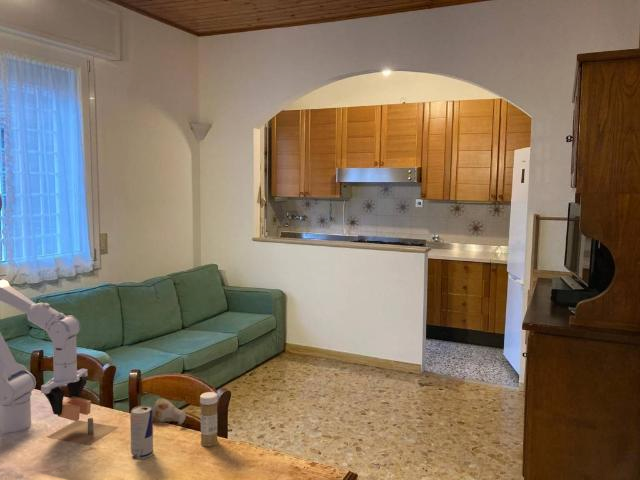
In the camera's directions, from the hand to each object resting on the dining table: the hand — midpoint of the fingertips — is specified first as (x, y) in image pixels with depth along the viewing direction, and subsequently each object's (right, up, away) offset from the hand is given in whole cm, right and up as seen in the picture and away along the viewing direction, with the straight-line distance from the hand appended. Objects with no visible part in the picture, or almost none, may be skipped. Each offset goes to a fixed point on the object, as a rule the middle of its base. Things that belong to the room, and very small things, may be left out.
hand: (66, 409), depth 140 cm
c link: (+3, -1, -1) cm, 3 cm away
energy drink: (+24, -8, -10) cm, 28 cm away
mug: (+26, -7, +9) cm, 28 cm away
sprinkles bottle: (+40, -8, -3) cm, 41 cm away
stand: (+5, -7, -1) cm, 9 cm away
